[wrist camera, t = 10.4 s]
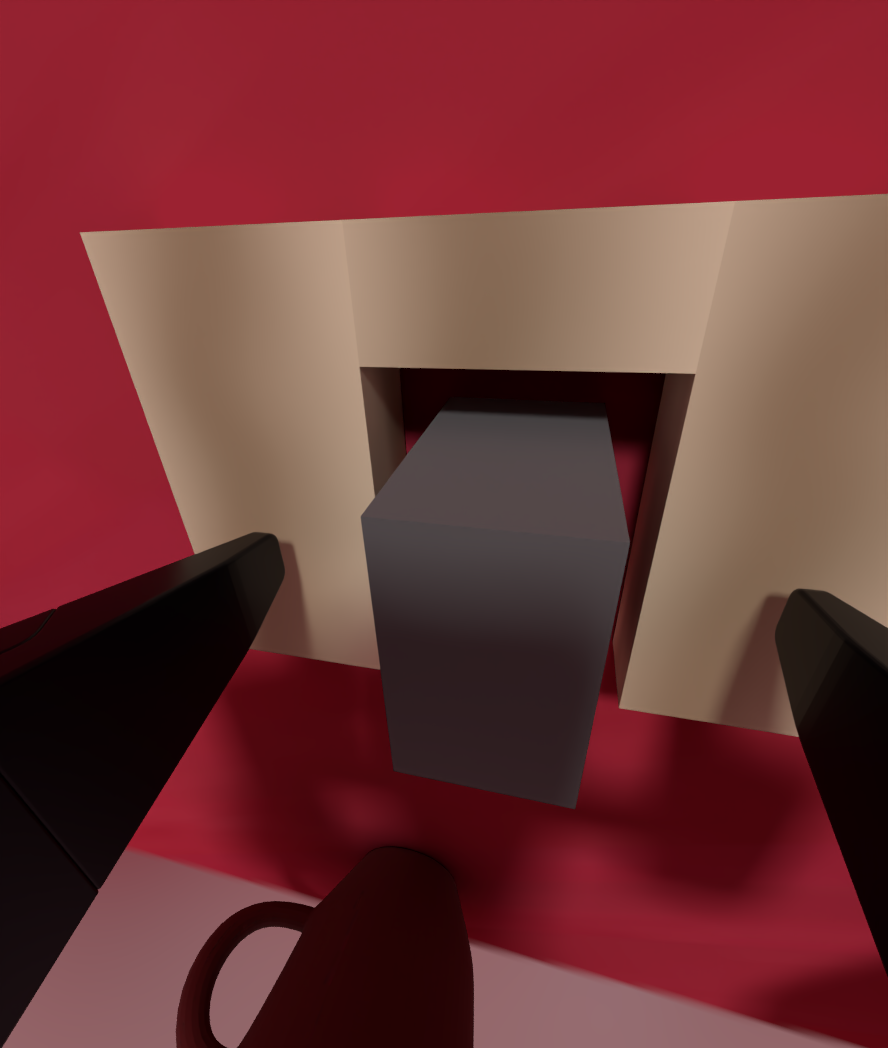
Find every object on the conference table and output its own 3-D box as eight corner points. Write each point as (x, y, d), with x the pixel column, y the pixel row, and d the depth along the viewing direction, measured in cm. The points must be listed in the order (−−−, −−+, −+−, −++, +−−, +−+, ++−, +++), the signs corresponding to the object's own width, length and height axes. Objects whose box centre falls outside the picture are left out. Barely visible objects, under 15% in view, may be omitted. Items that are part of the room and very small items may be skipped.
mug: (280, 869, 24) (122, 1211, 16) (260, 778, 20) (27, 1182, 11) (490, 937, 22) (439, 1358, 14) (518, 853, 18) (470, 1388, 10)
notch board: (1065, 192, 6) (1235, 177, 5) (819, 669, 11) (863, 746, 9) (168, 232, 9) (79, 232, 8) (268, 595, 14) (227, 644, 12)
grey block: (604, 402, 9) (629, 542, 5) (574, 604, 12) (574, 809, 8) (451, 396, 10) (360, 516, 6) (454, 590, 12) (394, 770, 8)
